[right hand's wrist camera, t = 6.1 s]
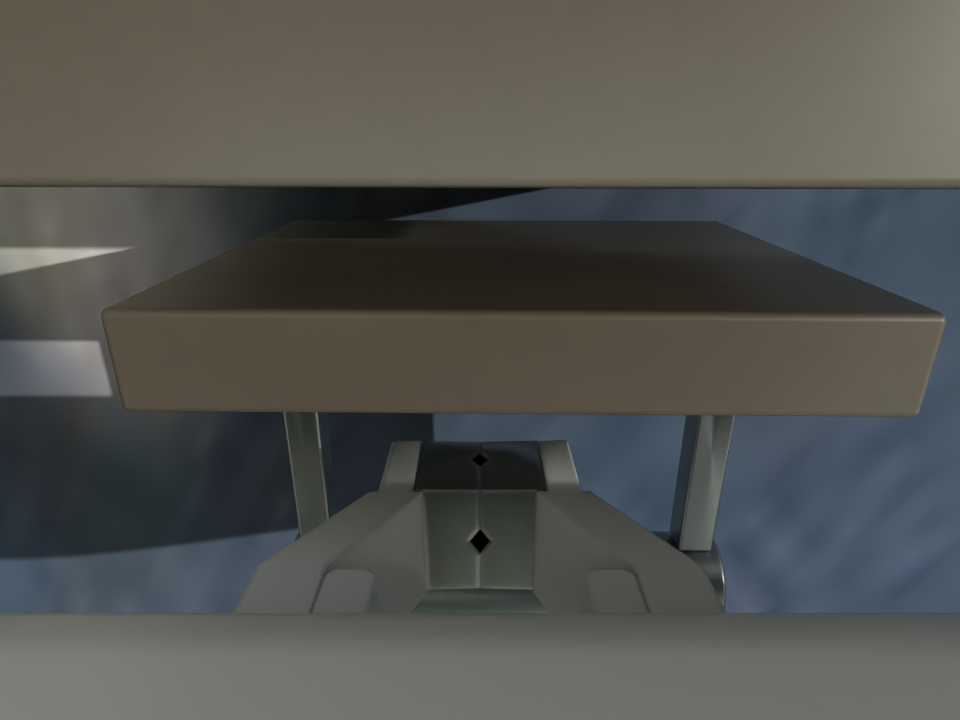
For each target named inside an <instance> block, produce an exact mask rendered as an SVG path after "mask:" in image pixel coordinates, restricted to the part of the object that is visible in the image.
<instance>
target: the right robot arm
mask: <svg viewBox="0 0 960 720" xmlns="http://www.w3.org/2000/svg"><path fill="white" fill-rule="evenodd" d="M470 588H488V589H525V590H533V593H534V594H535V595H536V596H537V598H538V599H539V600H540V601H541V603H542V604H543V605H544V606H545V607H546V609H547V610H548V611H549V612H550V613H411V612H412V610H413V609H414V608H415V607H416V605H417V604H418V603H419V602H420V601H421V599H422V598H423V597H424V596H425V595H426V593H427V590H434V589H470ZM0 720H960V613H726V611H725V609H724V607H723V605H722V603H721V601H720V599H719V597H718V595H717V593H716V591H715V589H714V588H713V586H712V584H711V582H710V580H709V578H708V576H707V574H706V572H705V570H704V568H703V566H702V565H700V564H699V563H697V562H696V561H694V560H693V559H691V558H690V557H688V556H687V555H685V554H684V553H682V552H681V551H679V550H678V549H676V548H675V547H673V546H672V545H670V544H668V543H667V542H665V541H664V540H662V539H661V538H659V537H658V536H656V535H655V534H653V533H652V532H650V531H649V530H647V529H646V528H644V527H643V526H641V525H640V524H638V523H637V522H635V521H634V520H632V519H631V518H629V517H628V516H626V515H625V514H623V513H622V512H620V511H619V510H617V509H616V508H614V507H613V506H611V505H610V504H608V503H607V502H605V501H604V500H602V499H601V498H599V497H598V496H596V495H595V494H593V493H592V492H590V491H582V490H581V487H580V483H579V480H578V476H577V473H576V469H575V466H574V462H573V459H572V455H571V452H570V448H569V445H568V442H567V441H565V440H553V441H503V442H465V441H422V440H406V441H394V442H393V443H392V444H391V448H390V451H389V455H388V458H387V462H386V466H385V469H384V473H383V476H382V480H381V483H380V487H379V490H378V491H370V492H368V493H367V494H365V495H364V496H362V497H361V498H359V499H358V500H356V501H355V502H353V503H352V504H350V505H349V506H347V507H346V508H344V509H343V510H341V511H340V512H338V513H337V514H335V515H334V516H332V517H331V518H329V519H328V520H326V521H324V522H323V523H321V524H320V525H318V526H317V527H315V528H314V529H312V530H311V531H309V532H308V533H306V534H305V535H303V536H302V537H300V538H299V539H297V540H296V541H294V542H293V543H291V544H290V545H288V546H287V547H285V548H284V549H282V550H281V551H279V552H278V553H276V554H274V555H273V556H271V557H270V558H268V559H267V560H265V561H264V562H262V563H261V564H259V565H258V566H257V568H256V570H255V572H254V574H253V576H252V578H251V580H250V582H249V584H248V586H247V588H246V590H245V592H244V594H243V596H242V598H241V600H240V601H239V603H238V605H237V607H236V609H235V611H234V613H0Z"/></svg>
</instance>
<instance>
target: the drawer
mask: <svg viewBox="0 0 960 720" xmlns="http://www.w3.org/2000/svg"><path fill="white" fill-rule="evenodd" d="M101 318H102V322H103V326H104V330H105V334H106V338H107V342H108V346H109V350H110V354H111V359H112V363H113V367H114V371H115V375H116V379H117V383H118V387H119V391H120V395H121V399H122V403H123V406H124V408H125V409H126V410H129V411H213V412H283V415H284V422H285V430H286V437H287V445H288V452H289V459H290V467H291V474H292V482H293V489H294V496H295V504H296V511H297V519H298V526H299V533H298V535H297V536H296V538H295V541H296V540H297V539H299V538H300V537H302V536H303V535H305V534H306V533H308V532H309V531H311V530H312V529H314V528H315V527H317V526H318V525H320V524H321V523H323V522H324V521H326V520H328V519H329V518H331V517H332V516H334V515H335V514H337V513H338V507H337V498H336V488H335V478H334V469H333V459H332V450H331V440H330V431H329V421H328V412H345V413H478V414H611V415H686V421H685V428H684V434H683V441H682V448H681V455H680V462H679V469H678V476H677V483H676V490H675V497H674V504H673V511H672V518H671V524H670V532H653V531H650V532H652V533H653V534H655V535H656V536H658V537H659V538H661V539H662V540H664V541H665V542H667V543H668V544H670V545H672V546H673V547H675V548H676V549H678V550H679V551H681V552H682V553H684V554H685V555H687V556H688V557H690V558H691V559H693V560H694V561H696V562H697V563H699V564H700V565H702V566H703V568H704V570H705V572H706V574H707V576H708V578H709V580H710V582H711V584H712V586H713V588H714V589H715V591H716V593H717V595H718V597H719V599H720V601H721V603H722V605H723V607H724V608H725V601H726V580H725V572H724V567H723V562H722V559H721V555H720V552H719V550H718V547H717V545H716V543H715V541H714V540H713V536H714V530H715V525H716V519H717V513H718V508H719V502H720V497H721V491H722V485H723V480H724V474H725V469H726V463H727V457H728V452H729V446H730V441H731V435H732V429H733V424H734V418H735V415H744V416H876V417H913V416H916V415H917V414H918V412H919V410H920V407H921V404H922V400H923V397H924V394H925V391H926V387H927V384H928V381H929V377H930V374H931V371H932V368H933V364H934V361H935V358H936V355H937V351H938V348H939V345H940V341H941V338H942V335H943V332H944V328H945V325H946V316H945V315H944V314H942V313H940V312H938V311H935V310H933V309H930V308H928V307H925V306H923V305H921V304H918V303H916V302H913V301H911V300H908V299H906V298H903V297H901V296H898V295H896V294H893V293H891V292H889V291H886V290H884V289H881V288H879V287H876V286H874V285H871V284H869V283H866V282H864V281H861V280H859V279H857V278H854V277H852V276H849V275H847V274H844V273H842V272H839V271H837V270H834V269H832V268H829V267H827V266H825V265H822V264H820V263H817V262H815V261H812V260H810V259H807V258H805V257H802V256H800V255H798V254H795V253H793V252H790V251H788V250H785V249H783V248H780V247H778V246H775V245H773V244H770V243H768V242H766V241H763V240H761V239H758V238H756V237H753V236H751V235H748V234H746V233H743V232H741V231H738V230H736V229H734V228H731V227H729V226H726V225H724V224H721V223H719V222H716V221H439V220H294V221H292V222H290V223H288V224H286V225H284V226H281V227H279V228H277V229H275V230H273V231H271V232H269V233H266V234H264V235H262V236H260V237H258V238H256V239H254V240H252V241H249V242H247V243H245V244H243V245H241V246H239V247H237V248H234V249H232V250H230V251H228V252H226V253H224V254H222V255H220V256H217V257H215V258H213V259H211V260H209V261H207V262H205V263H202V264H200V265H198V266H196V267H194V268H192V269H190V270H188V271H185V272H183V273H181V274H179V275H177V276H175V277H173V278H170V279H168V280H166V281H164V282H162V283H160V284H158V285H155V286H153V287H151V288H149V289H147V290H145V291H143V292H141V293H138V294H136V295H134V296H132V297H130V298H128V299H126V300H123V301H121V302H119V303H117V304H115V305H113V306H111V307H109V308H106V309H104V310H103V312H102V316H101ZM411 613H550V612H549V611H548V610H547V609H546V607H545V606H544V605H543V604H542V603H541V601H540V600H539V599H538V598H537V596H536V595H535V594H534V593H533V590H525V589H488V588H470V589H434V590H427V593H426V595H425V596H424V597H423V598H422V599H421V601H420V602H419V603H418V604H417V605H416V607H415V608H414V609H413V610H412V612H411Z"/></svg>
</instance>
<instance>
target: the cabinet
mask: <svg viewBox="0 0 960 720" xmlns="http://www.w3.org/2000/svg"><path fill="white" fill-rule="evenodd" d="M0 187H276V188H671V189H960V0H0Z"/></svg>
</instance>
